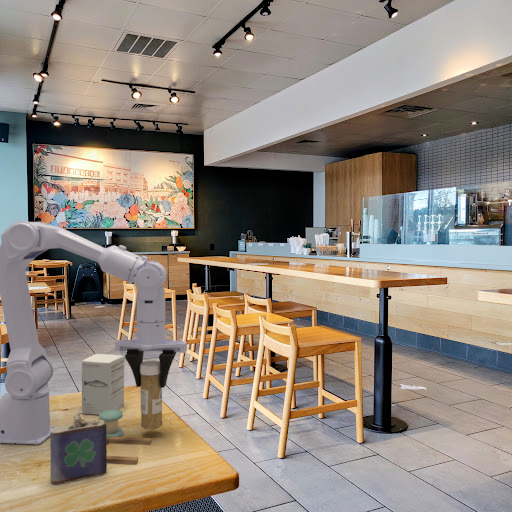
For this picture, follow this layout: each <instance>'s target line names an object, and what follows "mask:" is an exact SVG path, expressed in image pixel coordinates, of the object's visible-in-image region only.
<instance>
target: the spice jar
mask: <svg viewBox="0 0 512 512" xmlns="http://www.w3.org/2000/svg"><path fill="white" fill-rule="evenodd" d="M140 375H141V386H140V418H141V419H140V427H141V428H142V429H144V430H147V431H152V430H153V431H154V430H157V429H160V428H161V427H162V426H163V413H162V412H163V388H161V387H160V376H161V370H160V360H144V361H143V362H142V363H141V364H140Z"/></svg>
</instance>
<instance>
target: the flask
mask: <svg viewBox="0 0 512 512" xmlns="http://www.w3.org/2000/svg"><path fill="white" fill-rule="evenodd" d="M82 416H83V414H82V413H78V414H76V415H73V424H70V425H65V426H60V427H59V426H58V428H55V429H53V430H52V431H51V432H50V436H49V437H50V441H49V443H50V444H49V447H50V461H49V462H50V483H51V485H56V484H57V485H62V484H65V483H69V482H78V481H80V480H83V479H88V478H89V479H90V478H95V477H98V476H103V475H105V474H107V468H108V463H107V456H108V455H107V453H108V452H107V451H108V450H107V445H108V444H107V442H106V436H107V433H106V428H107V425H106V423H105V422H104V421H103V420H96V419H93V420H85V419H83V418H82ZM106 444H107V445H106Z"/></svg>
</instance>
